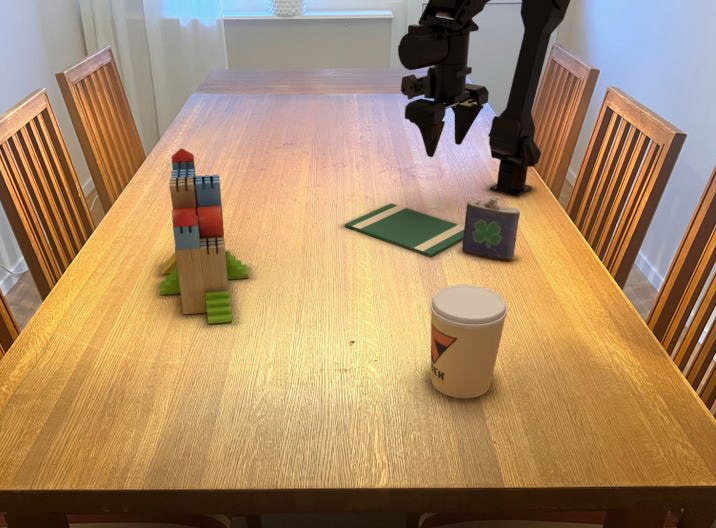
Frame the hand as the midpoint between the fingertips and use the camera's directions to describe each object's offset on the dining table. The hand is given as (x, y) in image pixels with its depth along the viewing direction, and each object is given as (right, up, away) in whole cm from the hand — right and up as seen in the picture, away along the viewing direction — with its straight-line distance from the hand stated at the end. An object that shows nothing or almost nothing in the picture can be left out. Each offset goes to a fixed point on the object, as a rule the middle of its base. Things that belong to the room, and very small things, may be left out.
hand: (444, 150), depth 138 cm
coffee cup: (-4, -42, -40) cm, 58 cm away
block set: (-41, -26, -16) cm, 52 cm away
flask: (+6, -21, -8) cm, 23 cm away
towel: (-6, -15, +1) cm, 16 cm away
